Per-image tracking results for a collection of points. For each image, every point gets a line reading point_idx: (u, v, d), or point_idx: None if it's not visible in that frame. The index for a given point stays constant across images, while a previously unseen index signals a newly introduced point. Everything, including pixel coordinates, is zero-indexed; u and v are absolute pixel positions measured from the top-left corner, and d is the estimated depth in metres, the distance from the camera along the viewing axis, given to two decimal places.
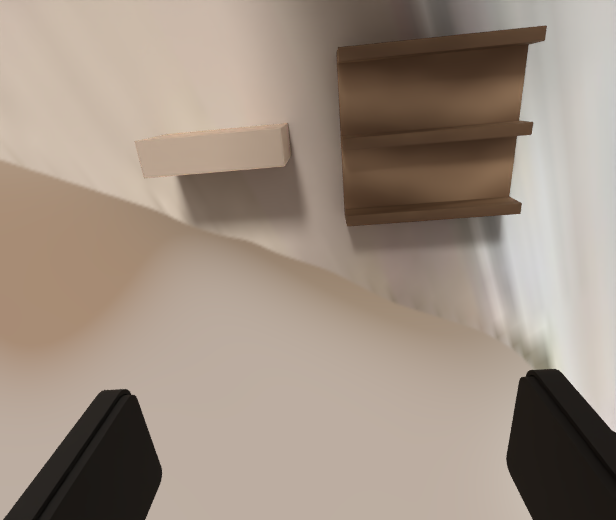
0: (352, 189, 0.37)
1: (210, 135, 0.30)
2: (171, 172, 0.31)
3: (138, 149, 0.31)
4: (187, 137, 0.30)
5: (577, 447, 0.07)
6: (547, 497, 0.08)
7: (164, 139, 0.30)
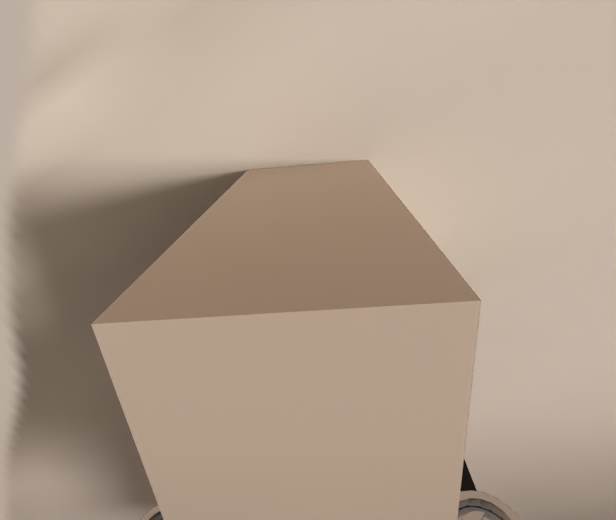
0: None
1: None
2: None
3: (392, 324, 0.03)
4: None
5: None
6: None
7: (447, 505, 0.04)
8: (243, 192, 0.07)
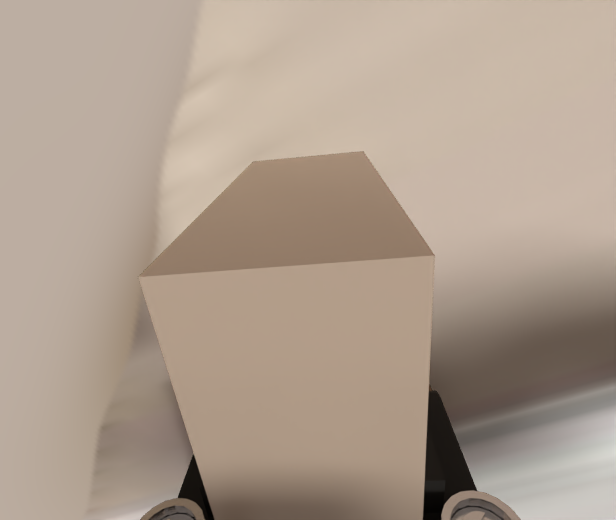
0: None
1: None
2: (212, 444, 0.05)
3: (367, 274, 0.04)
4: None
5: None
6: None
7: (419, 429, 0.05)
8: (250, 181, 0.08)
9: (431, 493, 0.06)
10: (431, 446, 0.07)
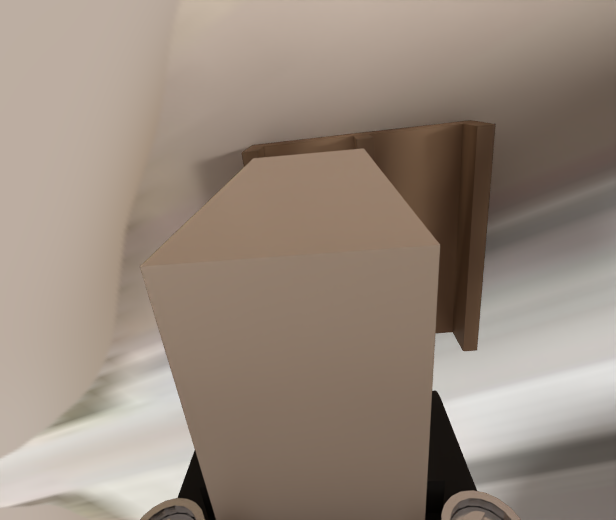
0: None
1: None
2: (213, 438, 0.05)
3: (372, 264, 0.04)
4: None
5: None
6: None
7: None
8: (250, 176, 0.08)
9: (431, 493, 0.06)
10: (431, 446, 0.07)
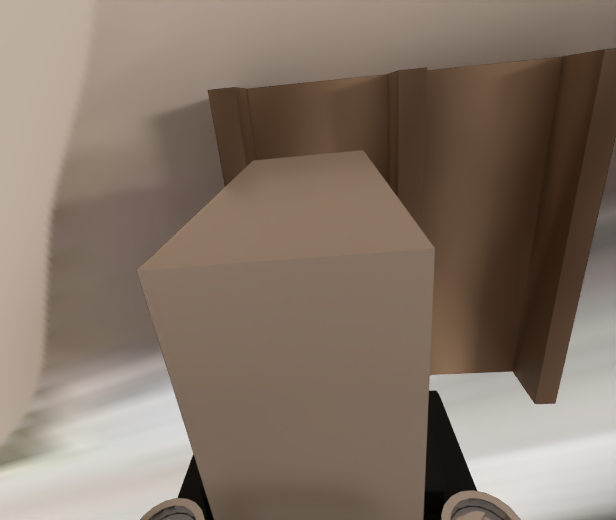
0: (293, 106, 0.16)
1: None
2: (211, 440, 0.05)
3: (367, 268, 0.04)
4: None
5: None
6: None
7: (419, 426, 0.05)
8: (249, 178, 0.08)
9: (431, 493, 0.06)
10: (431, 446, 0.07)
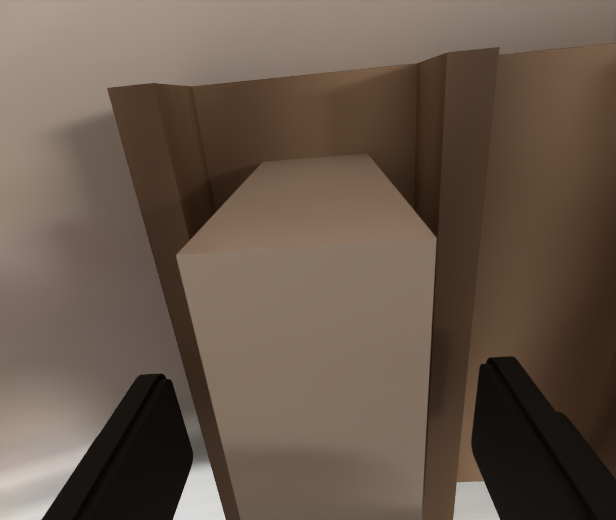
0: (265, 113, 0.10)
1: None
2: (234, 411, 0.05)
3: (378, 254, 0.04)
4: (417, 496, 0.06)
5: (522, 426, 0.07)
6: (501, 476, 0.08)
7: (420, 399, 0.05)
8: (262, 178, 0.08)
9: None
10: (606, 485, 0.06)
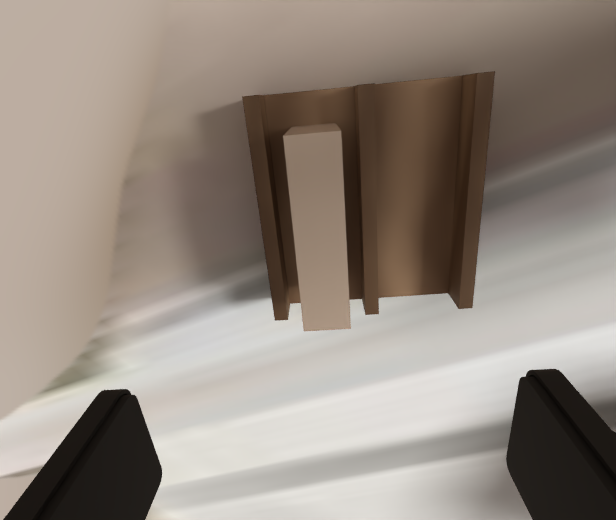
0: (293, 106, 0.25)
1: (345, 245, 0.22)
2: (293, 182, 0.20)
3: (328, 135, 0.19)
4: (343, 213, 0.21)
5: (577, 447, 0.07)
6: (547, 497, 0.08)
7: (342, 178, 0.20)
8: (295, 128, 0.23)
9: None
10: None
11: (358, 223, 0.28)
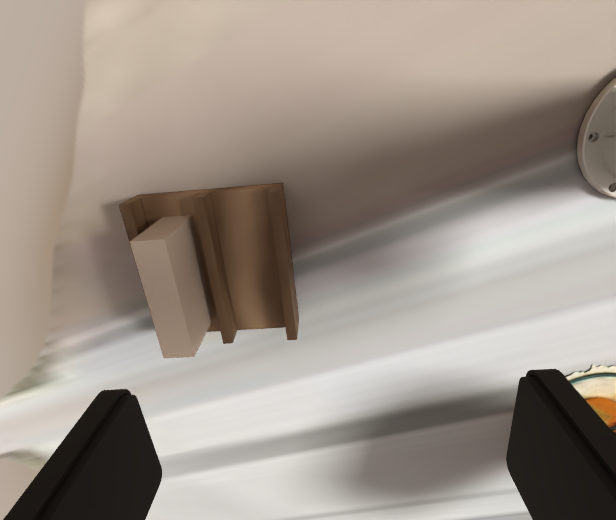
0: (161, 204, 0.37)
1: (180, 305, 0.33)
2: (140, 268, 0.32)
3: (157, 241, 0.31)
4: (175, 286, 0.33)
5: (577, 447, 0.07)
6: (547, 497, 0.08)
7: (171, 265, 0.32)
8: (155, 225, 0.35)
9: None
10: None
11: None
